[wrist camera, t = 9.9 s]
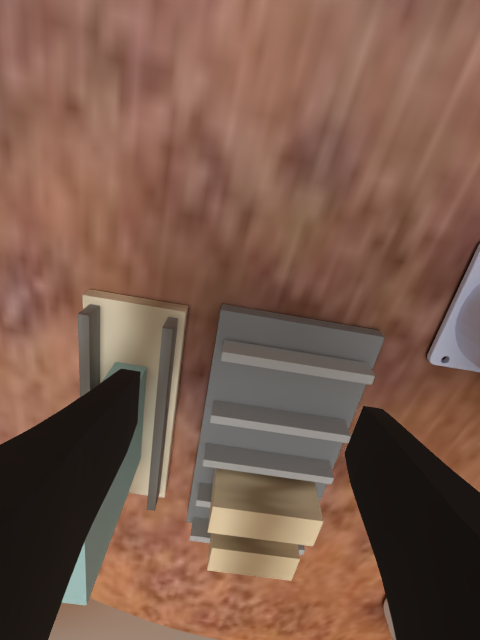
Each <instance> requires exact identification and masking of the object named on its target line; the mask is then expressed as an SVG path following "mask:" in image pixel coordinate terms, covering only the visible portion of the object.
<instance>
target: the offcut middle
mask: <svg viewBox="0 0 480 640" xmlns="http://www.w3.org/2000/svg"><path fill="white" fill-rule="evenodd" d="M322 524H323V517H322V513H321V508H320V504H319V499H318V495H317V490H316V486H315V482H312V481H305V480H298V479H290V478H283V477H276V476H269V475H262V474H255V473H248V472H241V471H234V470H227V469H220V468H215V474H214V479H213V487H212V496H211V505H210V515H209V524H208V533H215V534H222V535H230V536H238V537H245V538H253V539H261V540H268V541H276V542H284V543H292V544H299V545H307V546H313V545H314V543H315V540H316V538H317V536H318V533H319V531H320V528H321V526H322Z"/></svg>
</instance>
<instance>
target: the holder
mask: <svg viewBox="0 0 480 640" xmlns="http://www.w3.org/2000/svg"><path fill="white" fill-rule="evenodd" d="M187 315H188V306H187V305H181V304H175V303H169V302H163V301H157V300H151V299H145V298H139V297H133V296H127V295H121V294H115V293H109V292H103V291H97V290H91V289H90V290H89V291H87V292H86V293H85V294H83V310H82V311H81V312H80V313H78V338H79V372H80V397H81V396H83V395H84V394H86V393H87V392H89V391H90V390H92V389H93V388H94V387H96V386H97V385H98V384H100V383H101V382H102V381H103V379H104V378H105V376H106V375H107V373H108V372H109V370H110V369H111V368H112V366H113V365H114V363H115V362H120V363H126V364H133V365H139V366H146V367H147V376H146V390H145V405H144V420H143V434H142V449H141V460H140V462H139V465H138V468H137V470H136V473H135V476H134V478H133V481H132V484H131V487H130V489H129V492H128V493H133V494H141V495H148V499H147V510H154V511H155V508H156V504H157V501H158V497H163V498H164V497H165V493H166V489H167V483H168V475H169V467H170V458H171V450H172V441H173V433H174V424H175V416H176V407H177V399H178V391H179V382H180V374H181V365H182V357H183V348H184V340H185V331H186V323H187Z"/></svg>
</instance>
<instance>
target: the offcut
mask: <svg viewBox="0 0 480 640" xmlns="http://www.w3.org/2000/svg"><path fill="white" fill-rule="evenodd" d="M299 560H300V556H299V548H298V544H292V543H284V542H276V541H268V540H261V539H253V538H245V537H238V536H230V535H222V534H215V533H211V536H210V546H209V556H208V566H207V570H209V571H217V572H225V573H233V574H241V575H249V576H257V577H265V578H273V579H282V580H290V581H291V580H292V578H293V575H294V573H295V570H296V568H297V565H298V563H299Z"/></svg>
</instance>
